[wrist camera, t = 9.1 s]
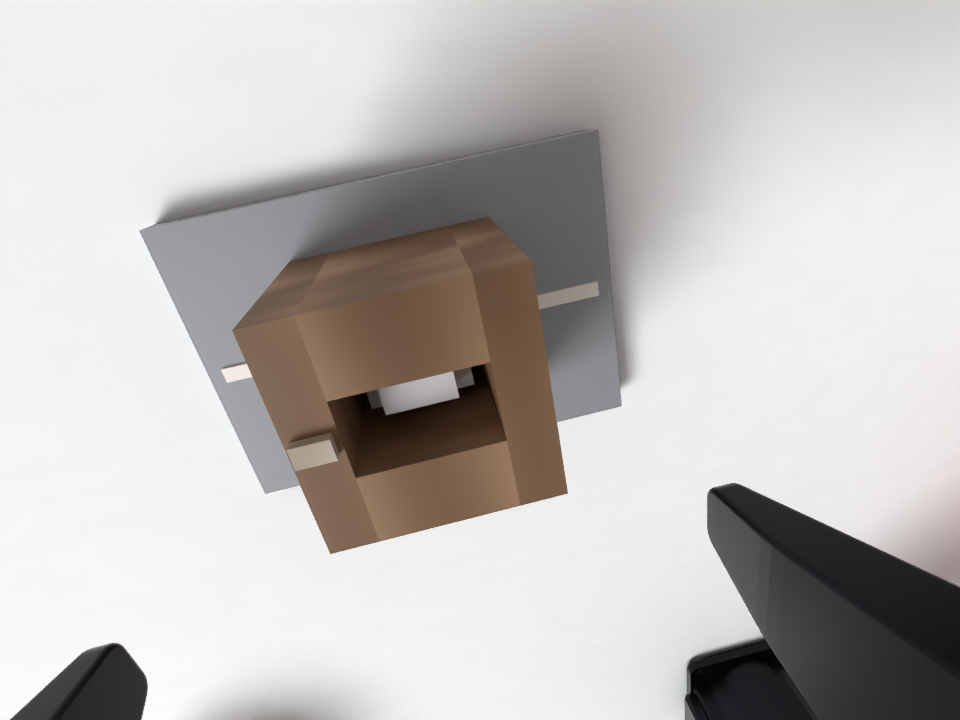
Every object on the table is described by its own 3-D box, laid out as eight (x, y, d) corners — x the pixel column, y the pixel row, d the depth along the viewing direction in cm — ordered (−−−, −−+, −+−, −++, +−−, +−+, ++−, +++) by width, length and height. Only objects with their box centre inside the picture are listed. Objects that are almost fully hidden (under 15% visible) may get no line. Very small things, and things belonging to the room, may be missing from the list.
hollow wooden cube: (488, 216, 16) (535, 264, 11) (519, 389, 19) (571, 501, 13) (288, 261, 16) (227, 335, 10) (350, 430, 19) (329, 562, 13)
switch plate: (587, 129, 17) (667, 130, 12) (612, 394, 21) (677, 476, 16) (153, 224, 16) (43, 268, 11) (271, 477, 20) (229, 590, 15)
